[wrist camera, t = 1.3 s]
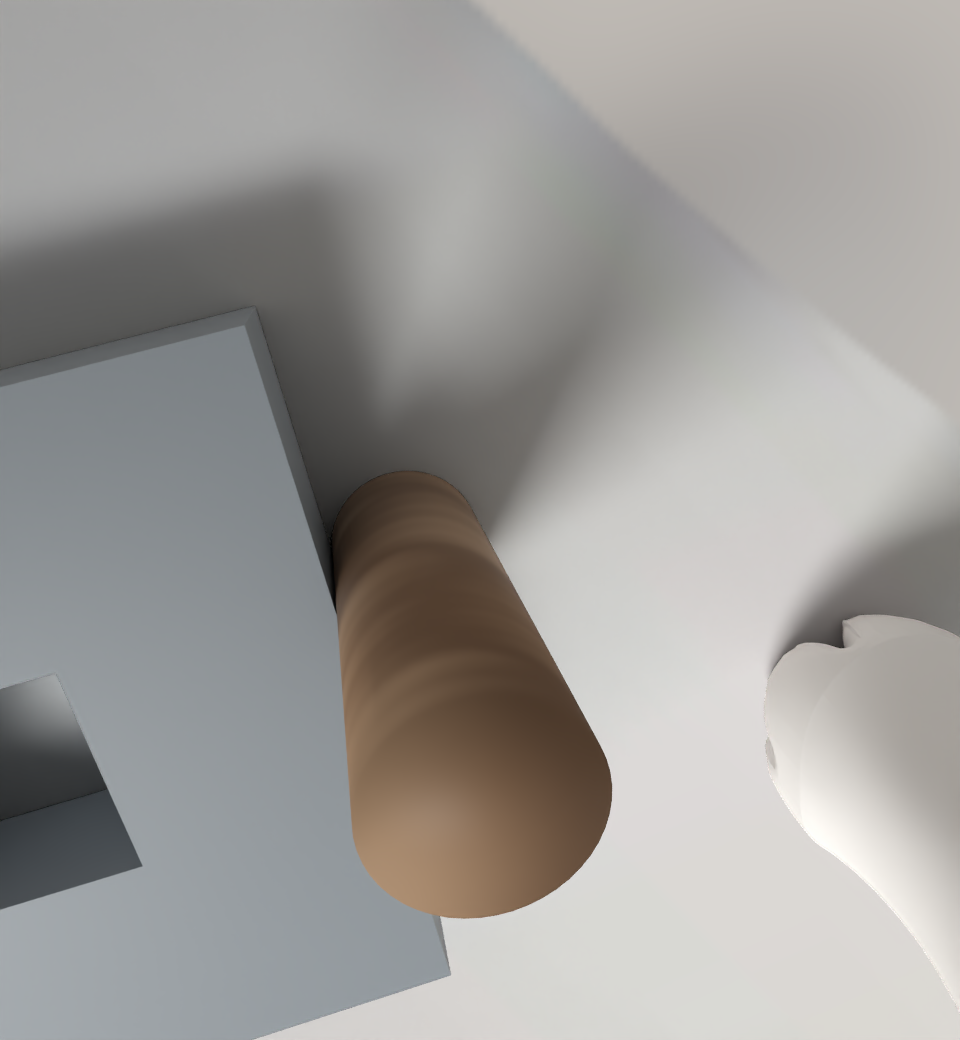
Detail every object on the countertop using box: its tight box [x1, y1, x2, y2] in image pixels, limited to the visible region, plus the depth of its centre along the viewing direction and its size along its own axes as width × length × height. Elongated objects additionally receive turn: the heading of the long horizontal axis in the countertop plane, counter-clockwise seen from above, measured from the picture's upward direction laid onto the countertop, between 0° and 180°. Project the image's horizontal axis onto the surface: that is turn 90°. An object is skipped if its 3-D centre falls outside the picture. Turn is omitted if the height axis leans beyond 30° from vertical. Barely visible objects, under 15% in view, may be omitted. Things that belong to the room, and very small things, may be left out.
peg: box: [332, 471, 612, 919], centre depth 19 cm, size 4×4×12 cm
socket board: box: [0, 306, 451, 1040], centre depth 23 cm, size 18×18×4 cm
